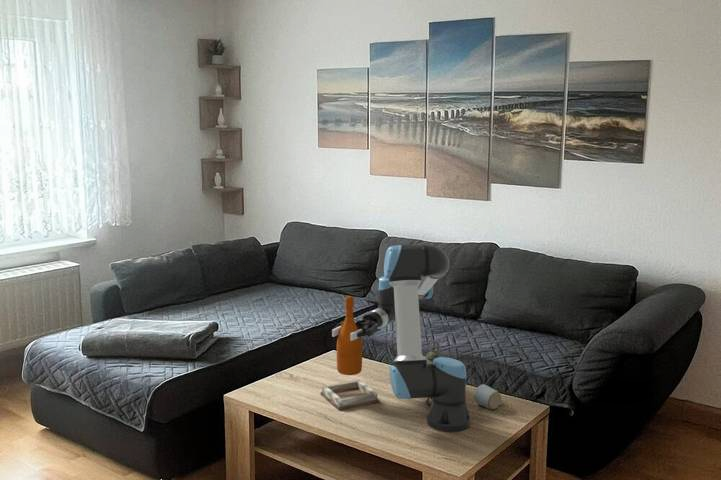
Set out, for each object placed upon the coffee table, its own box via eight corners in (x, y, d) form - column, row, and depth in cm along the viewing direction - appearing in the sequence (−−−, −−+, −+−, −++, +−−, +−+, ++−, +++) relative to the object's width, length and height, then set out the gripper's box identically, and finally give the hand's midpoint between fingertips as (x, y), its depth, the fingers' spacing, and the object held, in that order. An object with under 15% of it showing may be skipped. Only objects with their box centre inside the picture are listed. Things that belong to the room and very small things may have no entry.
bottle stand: (379, 402, 290) (379, 393, 290) (338, 410, 283) (338, 401, 282) (359, 387, 305) (359, 379, 305) (320, 394, 298) (320, 386, 297)
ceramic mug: (488, 412, 281) (489, 392, 280) (473, 405, 288) (473, 386, 286) (508, 406, 287) (509, 387, 286) (492, 399, 294) (493, 380, 292)
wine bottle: (363, 367, 297) (363, 293, 291) (360, 377, 287) (361, 300, 281) (338, 366, 298) (338, 292, 292) (335, 376, 288) (334, 299, 282)
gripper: (396, 333, 299) (364, 349, 281) (353, 325, 310) (320, 339, 292) (396, 315, 298) (364, 330, 279) (353, 307, 309) (319, 321, 290)
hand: (342, 335), depth 285 cm, fingers closed on wine bottle, 8 cm apart
